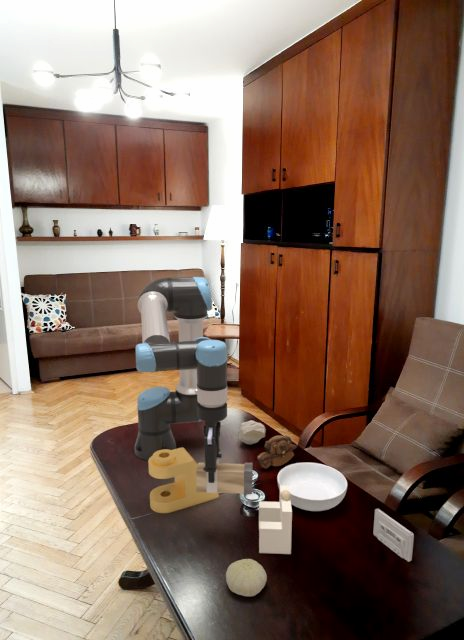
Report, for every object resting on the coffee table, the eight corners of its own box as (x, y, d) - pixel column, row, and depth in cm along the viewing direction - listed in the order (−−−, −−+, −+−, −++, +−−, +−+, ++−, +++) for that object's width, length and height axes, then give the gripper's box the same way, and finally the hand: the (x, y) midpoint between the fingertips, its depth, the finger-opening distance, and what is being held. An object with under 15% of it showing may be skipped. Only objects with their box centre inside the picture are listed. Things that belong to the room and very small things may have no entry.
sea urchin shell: (220, 562, 107) (245, 541, 106) (242, 582, 108) (267, 561, 108) (223, 593, 98) (250, 570, 97) (247, 614, 99) (274, 592, 99)
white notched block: (258, 523, 125) (259, 478, 122) (287, 524, 125) (289, 478, 122) (259, 552, 114) (259, 503, 111) (291, 554, 113) (292, 504, 111)
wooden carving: (265, 475, 149) (265, 447, 147) (256, 469, 153) (256, 442, 151) (299, 459, 159) (300, 433, 157) (289, 454, 163) (290, 429, 161)
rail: (199, 482, 119) (198, 460, 118) (252, 485, 118) (252, 462, 117) (196, 492, 115) (196, 469, 114) (251, 494, 114) (251, 471, 113)
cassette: (413, 560, 111) (415, 533, 110) (407, 563, 110) (410, 536, 109) (376, 532, 122) (378, 507, 120) (371, 534, 121) (373, 509, 119)
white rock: (259, 436, 177) (259, 413, 175) (271, 445, 170) (272, 420, 168) (233, 444, 171) (233, 419, 169) (245, 453, 164) (245, 428, 162)
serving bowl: (349, 487, 143) (350, 467, 141) (342, 528, 123) (343, 506, 122) (285, 475, 149) (285, 456, 148) (269, 512, 130) (269, 491, 128)
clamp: (155, 517, 128) (153, 466, 125) (146, 500, 136) (144, 451, 133) (218, 497, 137) (218, 449, 134) (206, 482, 145) (205, 437, 142)
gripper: (201, 389, 121) (203, 469, 125) (191, 415, 104) (193, 505, 109) (229, 390, 120) (229, 470, 125) (224, 416, 103) (224, 507, 108)
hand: (213, 486), depth 117 cm, fingers closed on rail, 4 cm apart
